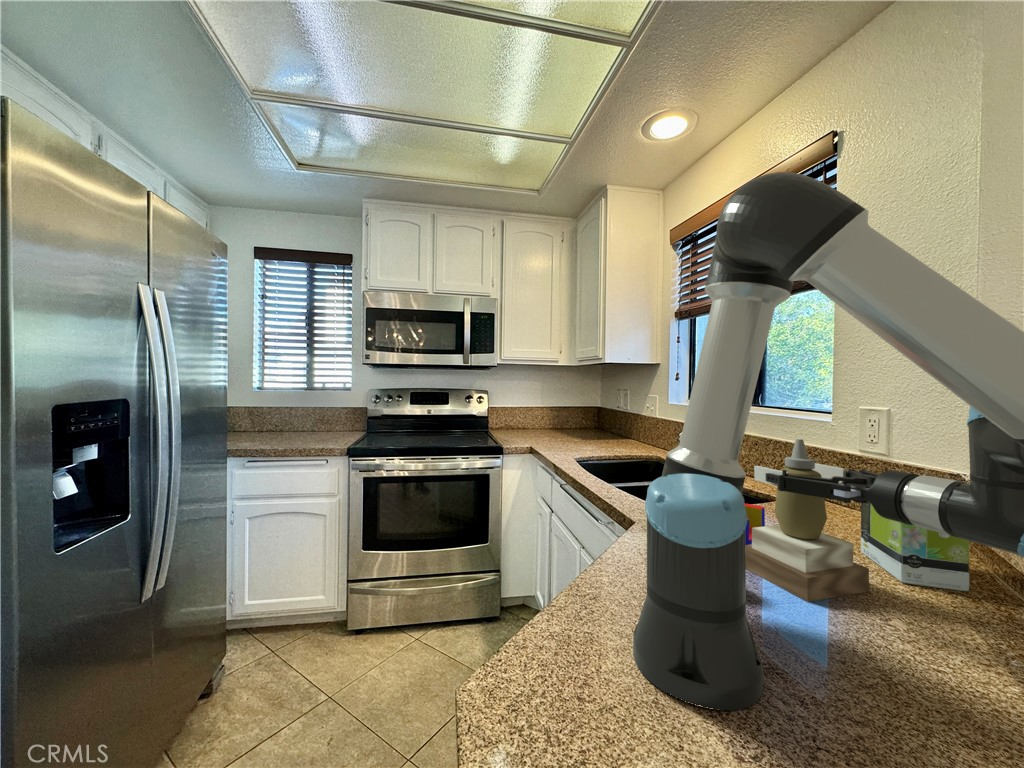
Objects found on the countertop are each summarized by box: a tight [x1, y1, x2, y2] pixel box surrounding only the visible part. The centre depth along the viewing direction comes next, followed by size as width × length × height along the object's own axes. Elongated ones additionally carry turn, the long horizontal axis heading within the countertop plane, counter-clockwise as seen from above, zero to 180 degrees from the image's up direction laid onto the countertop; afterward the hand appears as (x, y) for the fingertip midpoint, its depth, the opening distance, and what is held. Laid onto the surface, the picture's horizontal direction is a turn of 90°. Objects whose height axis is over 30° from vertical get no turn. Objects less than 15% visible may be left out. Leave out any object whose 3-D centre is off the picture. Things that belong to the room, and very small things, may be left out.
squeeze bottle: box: [774, 438, 828, 539], centre depth 75 cm, size 8×8×18 cm
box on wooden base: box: [745, 524, 870, 603], centre depth 75 cm, size 14×14×8 cm
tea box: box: [860, 501, 970, 592], centre depth 78 cm, size 15×10×15 cm
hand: (783, 470), depth 78 cm, fingers open, 13 cm apart
